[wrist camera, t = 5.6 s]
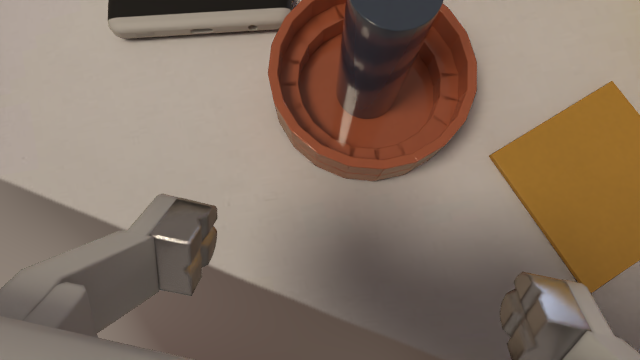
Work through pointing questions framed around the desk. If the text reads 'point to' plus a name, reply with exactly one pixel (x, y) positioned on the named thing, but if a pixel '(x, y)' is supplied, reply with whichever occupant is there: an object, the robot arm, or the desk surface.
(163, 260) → the robot arm
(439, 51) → the bowl
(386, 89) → the dark gray cylinder
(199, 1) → the tablet
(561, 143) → the napkin
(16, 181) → the desk surface
